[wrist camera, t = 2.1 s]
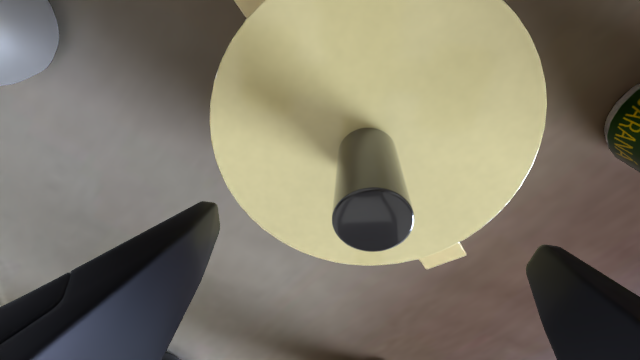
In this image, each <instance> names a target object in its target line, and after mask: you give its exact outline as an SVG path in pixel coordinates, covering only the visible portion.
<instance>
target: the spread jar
mask: <svg viewBox="0 0 640 360" xmlns="http://www.w3.org/2000/svg"><path fill="white" fill-rule="evenodd" d="M162 360H180V359H179V358H177V357H176V356H174V355H172V354H170V353H167V352H165V354H164V356H163V358H162Z"/></svg>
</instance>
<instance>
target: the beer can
mask: <svg viewBox="0 0 640 360" xmlns="http://www.w3.org/2000/svg"><path fill="white" fill-rule="evenodd" d="M604 132H605V139H606V142H607V145H608V147H609V149H610V150H611V152H612V153H613V154H614V156H615V157H616V158H618V159H619V160H621V161H622V162H624V163H626V164H627V165H629V166H630V167H632V168H634V169H635V170H637V171H639V172H640V83H639V84H637V85H636V86H634V87H633V88H631V89H630V90H628V91H627V92H626V93H625V94H624V95H623V96H622V97H621V98H620V99H619V100H618V101H617V102H616V103H615V105H614V107H613V108H612V110H611V111H610V113H609V115H608V116H607V120H606V123H605V127H604Z"/></svg>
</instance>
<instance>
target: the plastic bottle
mask: <svg viewBox="0 0 640 360" xmlns="http://www.w3.org/2000/svg"><path fill="white" fill-rule="evenodd" d="M58 42H59V30H58V24H57V20H56V16H55V14H54V12H53V9H52V7H51V5H50V3H49V1H48V0H0V86H2V85H11V84H15V83H18V82H21V81H23V80H25V79H27V78H29V77H32V76H34V75H36V74H38V73H40V72H41V71H43V70H44V69H46V68H47V67H48V66H49V64H50V63H51V62H52V60H53V57H54V55H55V52H56V50H57V47H58Z"/></svg>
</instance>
